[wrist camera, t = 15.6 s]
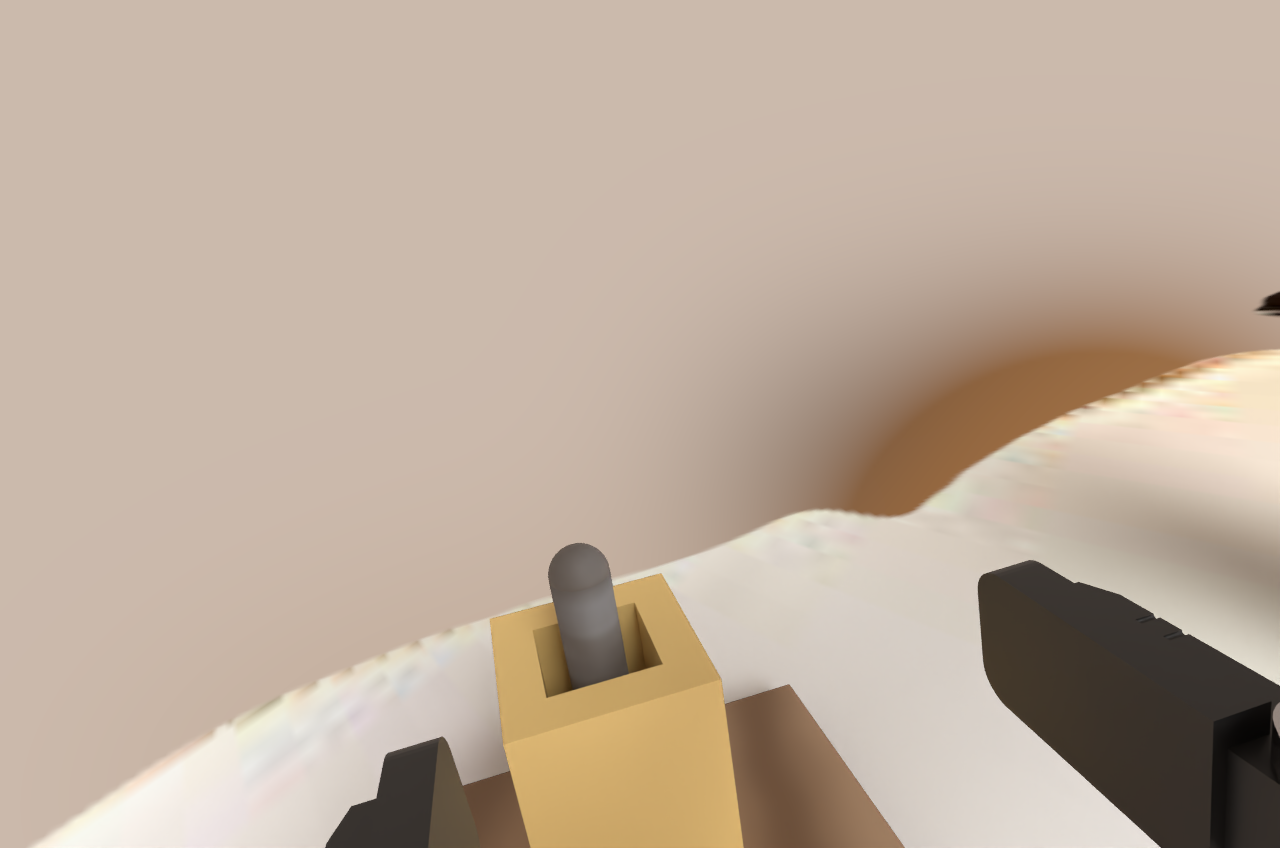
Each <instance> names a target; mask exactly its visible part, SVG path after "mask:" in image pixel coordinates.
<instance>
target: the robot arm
mask: <svg viewBox="0 0 1280 848" xmlns="http://www.w3.org/2000/svg"><path fill="white" fill-rule="evenodd" d="M978 599H979V612H980V625H981V639H982V652H983V663H984V668H985V672H986V675H987V677H988V680H989V682H990V684H991V686H992V688H993V690H994V691H995V693H996V695H997V696H998V697H999V699H1000V700H1001V701H1002V703H1003V704H1004V705H1005V706H1006V707H1007V708H1008V709H1010V710H1011V711H1012V712H1013V713H1014V714H1015V715H1016V716H1017V717H1018V718H1019V719H1021V720H1022V721H1023V722H1024V723H1025V724H1026V725H1027V726H1028V727H1029V728H1030V729H1031V730H1033V731H1034V732H1035V733H1036V734H1037V735H1038V736H1039V737H1040V738H1041V739H1042V740H1044V741H1045V742H1046V743H1047V744H1048V745H1049V746H1050V747H1051V748H1052V749H1053V750H1055V751H1056V752H1057V753H1058V754H1059V755H1060V756H1061V757H1062V758H1063V759H1064V760H1066V761H1067V762H1068V763H1069V764H1070V765H1071V766H1072V767H1073V768H1074V769H1075V770H1076V771H1078V772H1079V773H1080V774H1081V775H1082V776H1083V777H1084V778H1085V779H1086V780H1087V781H1089V782H1090V783H1091V784H1092V785H1093V786H1094V787H1095V788H1096V789H1097V790H1098V791H1100V792H1101V793H1102V794H1103V795H1104V796H1105V797H1106V798H1107V799H1108V800H1109V801H1110V802H1112V803H1113V804H1114V805H1115V806H1116V807H1117V808H1118V809H1119V810H1120V811H1121V812H1123V813H1124V814H1125V815H1126V816H1127V817H1128V818H1129V819H1130V820H1131V821H1132V822H1134V823H1135V824H1136V825H1137V826H1138V827H1139V828H1140V829H1141V830H1142V831H1143V832H1144V833H1146V834H1147V835H1148V836H1149V837H1150V838H1151V839H1152V840H1153V841H1154V842H1155V843H1157V844H1158V845H1159V846H1160V847H1161V848H1280V686H1279V685H1277V684H1275V683H1274V682H1272V681H1270V680H1268V679H1267V678H1265V677H1263V676H1261V675H1260V674H1258V673H1256V672H1254V671H1253V670H1251V669H1249V668H1247V667H1246V666H1244V665H1242V664H1240V663H1239V662H1237V661H1235V660H1233V659H1232V658H1230V657H1228V656H1226V655H1225V654H1223V653H1221V652H1219V651H1218V650H1216V649H1214V648H1212V647H1211V646H1209V645H1207V644H1205V643H1204V642H1202V641H1200V640H1198V639H1197V638H1195V637H1193V636H1191V635H1190V634H1188V635H1184V634H1183V633H1182V630H1181V629H1179V628H1177V627H1176V626H1174V625H1172V624H1170V623H1169V622H1167V621H1165V620H1163V619H1162V618H1158V619H1156V618H1155V617H1154V615H1153V613H1151V612H1149V611H1148V610H1146V609H1144V608H1142V607H1141V606H1139V605H1137V604H1135V603H1134V602H1132V601H1130V600H1128V599H1127V598H1125V597H1123V596H1121V595H1119V594H1116V593H1113V592H1110V591H1106V590H1103V589H1100V588H1097V587H1093V586H1090V585H1087V584H1083V583H1080V582H1077V583H1073V582H1071V581H1070V580H1068V579H1066V578H1065V577H1063V576H1061V575H1059V574H1058V573H1056V572H1054V571H1053V570H1051V569H1049V568H1048V567H1046V566H1044V565H1043V564H1041V563H1039V562H1037V561H1033V560H1029V561H1025V562H1022V563H1019V564H1015V565H1012V566H1009V567H1006V568H1002V569H999V570H996V571H992V572H989V573H986V574H983V575H982V576H981V577H980V579H979V582H978ZM325 848H480V842H479V837H478V833H477V829H476V825H475V822H474V819H473V816H472V813H471V810H470V807H469V804H468V801H467V798H466V795H465V792H464V789H463V786H462V783H461V780H460V777H459V774H458V771H457V768H456V765H455V762H454V759H453V756H452V753H451V750H450V748H449V745H448V743H447V741H446V740H445V738H444V737H440V738H436V739H433V740H430V741H426V742H423V743H420V744H417V745H413V746H410V747H407V748H403V749H400V750H397V751H393V752H390V753H388V754H387V755H386V756H385V759H384V763H383V768H382V773H381V778H380V783H379V788H378V793H377V798H376V799H374V800H370V801H367V802H364V803H361V804H358V805H354V806H351V808H350V809H349V811H348V812H347V814H346V815H345V817H344V818H343V820H342V821H341V823H340V824H339V826H338V827H337V829H336V830H335V832H334V833H333V835H332V836H331V838H330V839H329V841H328V842H327V844H326V847H325Z"/></svg>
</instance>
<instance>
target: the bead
mask: <svg viewBox="0 0 1280 848" xmlns="http://www.w3.org/2000/svg"><path fill="white" fill-rule="evenodd" d="M613 590H614V595H615V601H616V606H617V612H618V617H619V623H620V628H621V633H622V639H623V644H624V650H625V655H626V661H627V666H628V672H629V674H627V675H624V676H621V677H617V678H614V679H610V680H607V681H603V682H600V683H597V684H593V685H590V686H586V687H583V688H579V689H576V690H572V685H571V681H570V676H569V671H568V667H567V662H566V658H565V653H564V648H563V644H562V639H561V635H560V630H559V625H558V621H557V616H556V612H555V607H554V602H552V603H548V604H545V605H541V606H537V607H533V608H530V609H526V610H522V611H518V612H515V613H511V614H507V615H503V616H500V617H496V618H492V619H490V625H491V635H492V644H493V653H494V663H495V672H496V681H497V691H498V700H499V709H500V719H501V728H502V737H503V746H504V749H505V753H506V757H507V761H508V765H509V768H510V772H511V776H512V780H513V783H514V787H515V791H516V795H517V798H518V802H519V806H520V810H521V814H522V817H523V821H524V825H525V829H526V832H527V836H528V840H529V844H530V848H744V847H743V839H742V832H741V824H740V816H739V809H738V801H737V794H736V786H735V779H734V771H733V763H732V756H731V748H730V741H729V733H728V726H727V718H726V711H725V703H724V695H723V688H722V680H721V678H720V676H719V674H718V672H717V671H716V669H715V667H714V665H713V664H712V662H711V660H710V658H709V657H708V655H707V653H706V651H705V650H704V648H703V646H702V644H701V642H700V641H699V639H698V637H697V635H696V634H695V632H694V630H693V628H692V627H691V625H690V623H689V621H688V620H687V618H686V616H685V614H684V613H683V611H682V609H681V607H680V605H679V604H678V602H677V600H676V598H675V597H674V595H673V593H672V591H671V590H670V588H669V586H668V584H667V583H666V581H665V579H664V577H663V575H662V574H661V573H660V574H657V575H653V576H649V577H645V578H642V579H638V580H634V581H630V582H627V583H623V584H619V585H616V586H613Z"/></svg>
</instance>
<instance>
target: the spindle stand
mask: <svg viewBox="0 0 1280 848" xmlns="http://www.w3.org/2000/svg"><path fill="white" fill-rule="evenodd" d="M548 578H549V584H550V589H551V593H552V598H553V602H554V607H555V612H556V616H557V621H558V625H559V630H560V635H561V639H562V644H563V648H564V653H565V658H566V662H567V667H568V671H569V676H570V681H571V685H572V690H576V689H579V688H583V687H586V686H590V685H593V684H597V683H600V682H603V681H607V680H610V679H614V678H617V677H621V676H624V675H627V674H629V672H628V666H627V661H626V655H625V650H624V644H623V639H622V633H621V628H620V623H619V617H618V612H617V606H616V601H615V595H614V590H613V584H612V579H611V574H610V569H609V564H608V562H607V560H606V558H605V556H604V555H603V554H602V553H601V552H600V551H599V550H598V549H597V548H595V547H593V546H591V545H588V544H584V543H575V544H571V545H568V546H566V547H564V548H562V549H561V550H560V551H559V552H558V553H557V554H556V555H555V556H554V558H553V559H552V561H551V564H550V567H549V572H548ZM725 711H726V718H727V726H728V733H729V741H730V748H731V756H732V763H733V771H734V779H735V786H736V794H737V801H738V809H739V816H740V824H741V832H742V839H743V847H744V848H905V847H904V846H903V845H902V843H901V842H900V840H899V839H898V837H897V836H896V835H895V833H894V832H893V830H892V829H891V828H890V826H889V825H888V823H887V822H886V821H885V819H884V818H883V816H882V815H881V813H880V812H879V811H878V809H877V808H876V806H875V805H874V804H873V802H872V801H871V799H870V798H869V796H868V795H867V794H866V792H865V791H864V789H863V788H862V787H861V785H860V784H859V782H858V781H857V779H856V778H855V777H854V775H853V774H852V772H851V771H850V770H849V768H848V767H847V765H846V764H845V762H844V761H843V760H842V758H841V757H840V755H839V754H838V753H837V751H836V750H835V748H834V747H833V745H832V744H831V743H830V741H829V740H828V738H827V737H826V736H825V734H824V733H823V731H822V730H821V728H820V727H819V726H818V724H817V723H816V721H815V720H814V719H813V717H812V716H811V714H810V713H809V712H808V710H807V709H806V707H805V706H804V704H803V703H802V702H801V700H800V699H799V697H798V696H797V695H796V693H795V692H794V690H793V689H792V687H791V686H790V685H789V684H788V685H785V686H782V687H779V688H776V689H772V690H769V691H766V692H763V693H759V694H756V695H753V696H750V697H747V698H743V699H740V700H737V701H734V702H731V703H727V704H725ZM463 789H464V792H465V795H466V798H467V801H468V804H469V807H470V810H471V813H472V816H473V819H474V822H475V825H476V829H477V833H478V837H479V842H480V848H530V844H529V840H528V836H527V832H526V829H525V825H524V821H523V817H522V814H521V810H520V806H519V802H518V798H517V795H516V791H515V787H514V783H513V780H512V776H511V772H510V771H509V772H506V773H503V774H499V775H496V776H493V777H490V778H487V779H483V780H480V781H477V782H474V783H470V784H467V785H464V786H463Z"/></svg>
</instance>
